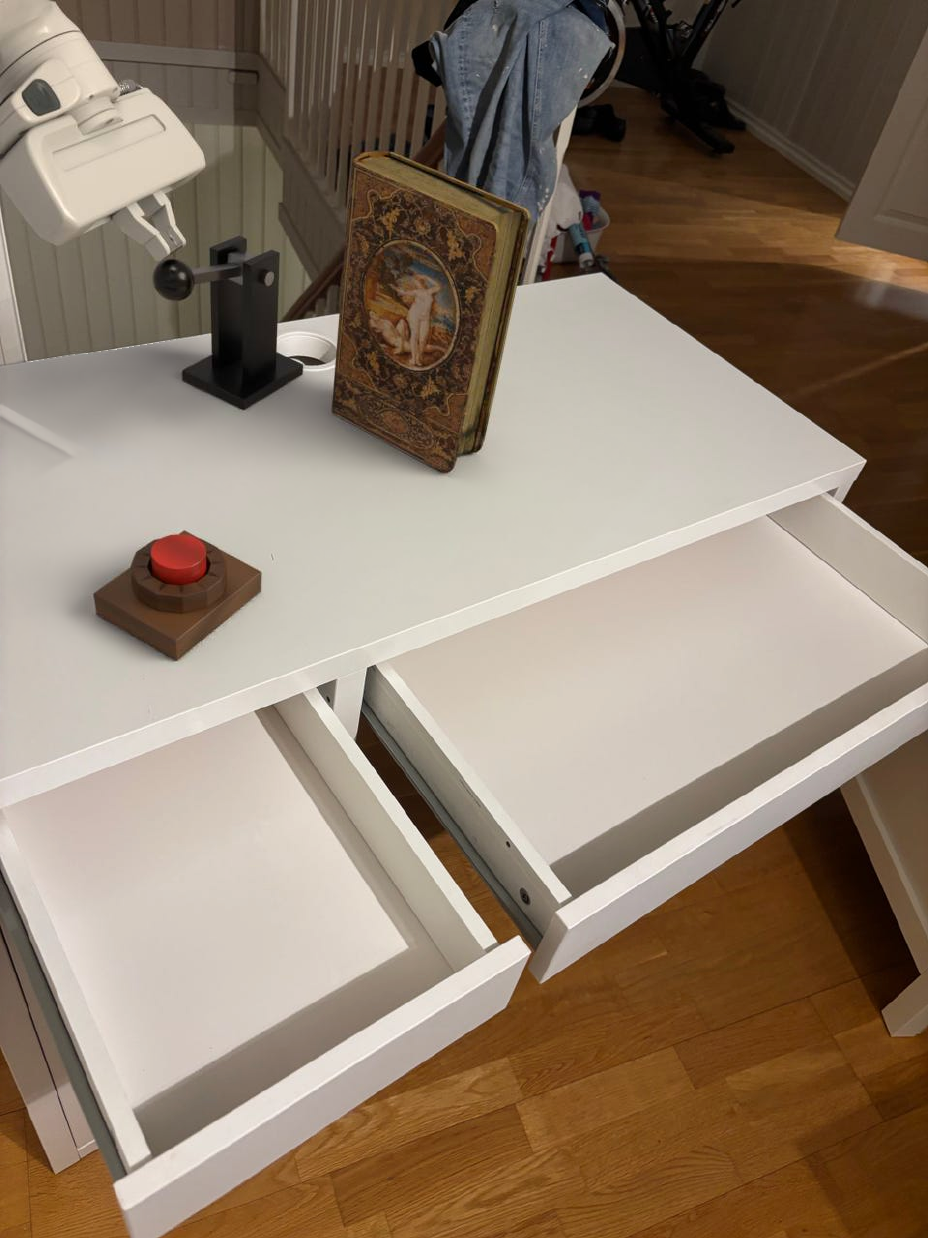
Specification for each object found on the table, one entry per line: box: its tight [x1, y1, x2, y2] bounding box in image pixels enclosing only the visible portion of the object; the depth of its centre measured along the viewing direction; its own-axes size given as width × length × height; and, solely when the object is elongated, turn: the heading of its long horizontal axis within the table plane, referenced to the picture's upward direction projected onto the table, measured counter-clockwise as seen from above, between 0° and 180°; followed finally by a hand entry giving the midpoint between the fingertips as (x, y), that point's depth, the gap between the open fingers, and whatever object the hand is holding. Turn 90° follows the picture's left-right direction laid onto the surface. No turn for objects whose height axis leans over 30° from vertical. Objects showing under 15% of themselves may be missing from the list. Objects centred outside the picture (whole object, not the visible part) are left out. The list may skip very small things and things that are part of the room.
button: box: [151, 533, 206, 585], centre depth 72 cm, size 4×4×2 cm
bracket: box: [181, 235, 304, 411], centre depth 95 cm, size 10×8×14 cm
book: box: [331, 150, 531, 474], centre depth 89 cm, size 16×6×25 cm, turn 56°
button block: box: [92, 529, 263, 661], centre depth 74 cm, size 10×8×4 cm
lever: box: [151, 250, 258, 302], centre depth 88 cm, size 13×4×4 cm, turn 151°
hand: (172, 253), depth 83 cm, fingers closed, pressing on lever
